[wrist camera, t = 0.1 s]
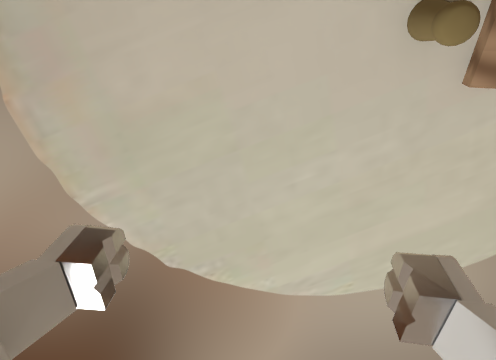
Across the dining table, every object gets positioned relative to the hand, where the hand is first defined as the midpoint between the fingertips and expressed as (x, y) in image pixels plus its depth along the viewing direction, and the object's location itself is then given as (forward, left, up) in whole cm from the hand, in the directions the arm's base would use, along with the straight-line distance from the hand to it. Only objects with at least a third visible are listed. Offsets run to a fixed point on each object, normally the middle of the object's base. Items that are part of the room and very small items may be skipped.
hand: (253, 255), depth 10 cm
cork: (-5, +22, -49) cm, 54 cm away
